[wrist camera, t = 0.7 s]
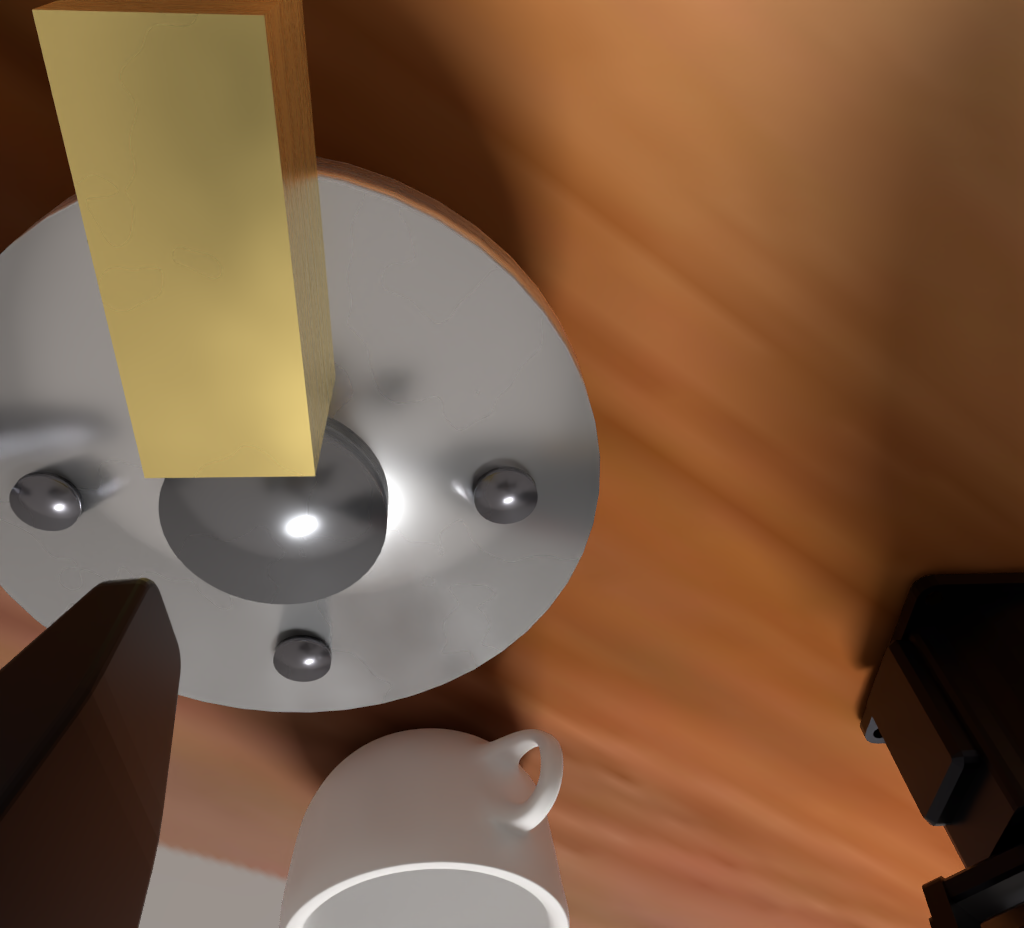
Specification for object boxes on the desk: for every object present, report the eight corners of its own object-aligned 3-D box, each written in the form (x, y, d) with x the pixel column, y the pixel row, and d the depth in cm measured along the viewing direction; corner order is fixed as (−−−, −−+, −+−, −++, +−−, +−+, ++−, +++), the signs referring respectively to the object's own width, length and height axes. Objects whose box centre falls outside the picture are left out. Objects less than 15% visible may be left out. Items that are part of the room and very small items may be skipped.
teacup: (459, 872, 31) (463, 1041, 27) (258, 803, 28) (224, 979, 24) (645, 706, 27) (686, 873, 22) (431, 604, 24) (428, 773, 20)
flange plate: (570, 665, 21) (595, 820, 18) (53, 679, 21) (-25, 845, 17) (636, -17, 13) (704, 26, 10) (-210, -41, 13) (-461, -4, 9)
